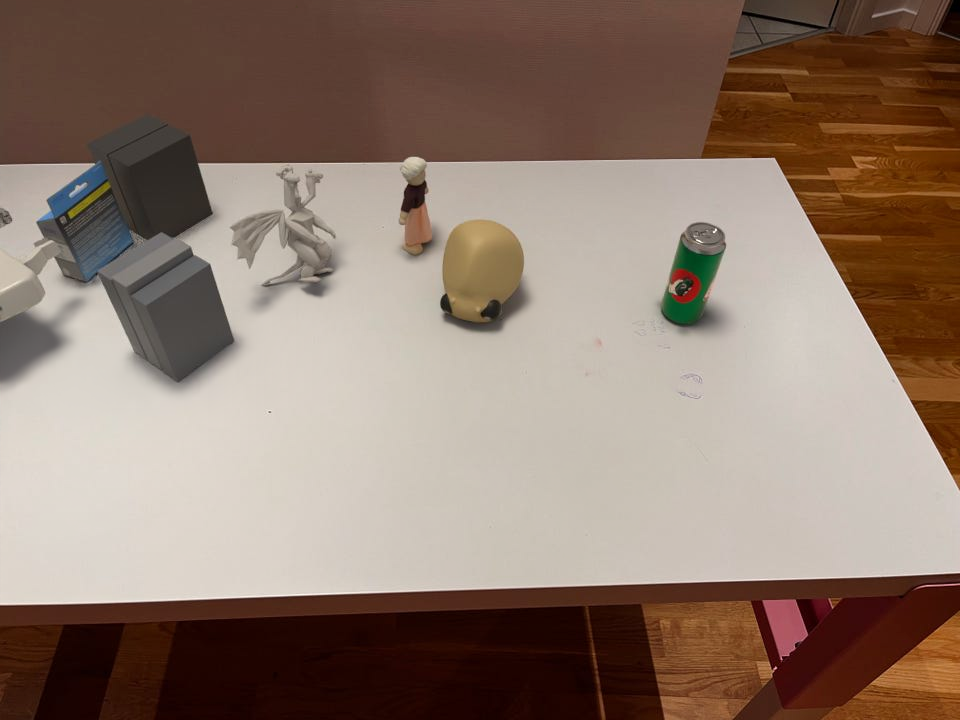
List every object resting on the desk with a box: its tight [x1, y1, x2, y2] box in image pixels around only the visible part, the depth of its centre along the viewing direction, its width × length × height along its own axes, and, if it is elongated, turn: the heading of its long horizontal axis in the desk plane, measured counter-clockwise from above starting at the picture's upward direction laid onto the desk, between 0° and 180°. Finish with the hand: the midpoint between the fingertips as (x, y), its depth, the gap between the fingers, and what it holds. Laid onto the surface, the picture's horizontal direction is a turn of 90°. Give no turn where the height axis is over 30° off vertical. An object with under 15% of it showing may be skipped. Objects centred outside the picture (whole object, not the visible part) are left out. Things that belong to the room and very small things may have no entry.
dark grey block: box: [86, 113, 214, 241], centre depth 96 cm, size 8×9×12 cm
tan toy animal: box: [439, 219, 525, 323], centre depth 88 cm, size 10×12×11 cm
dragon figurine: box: [228, 163, 337, 286], centre depth 90 cm, size 10×18×14 cm, turn 168°
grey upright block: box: [96, 232, 235, 383], centre depth 80 cm, size 8×8×12 cm
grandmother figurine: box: [398, 156, 433, 256], centre depth 94 cm, size 8×4×13 cm, turn 171°
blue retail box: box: [35, 161, 134, 283], centre depth 90 cm, size 9×4×12 cm, turn 158°
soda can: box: [660, 221, 727, 325], centre depth 86 cm, size 5×5×12 cm
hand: (30, 228), depth 85 cm, fingers open, 8 cm apart
